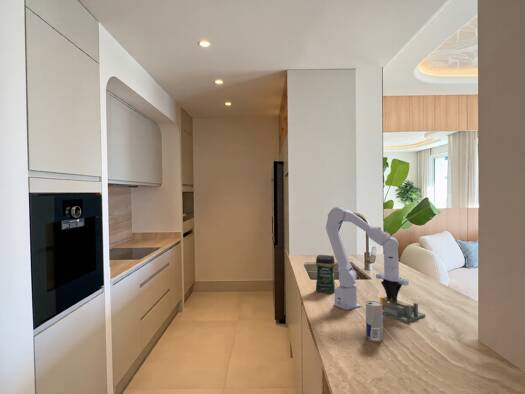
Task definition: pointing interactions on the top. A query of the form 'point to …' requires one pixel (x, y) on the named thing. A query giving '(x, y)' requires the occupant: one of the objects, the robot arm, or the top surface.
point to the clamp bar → (398, 302)
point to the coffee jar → (325, 274)
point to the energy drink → (374, 321)
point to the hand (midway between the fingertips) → (391, 298)
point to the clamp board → (408, 316)
